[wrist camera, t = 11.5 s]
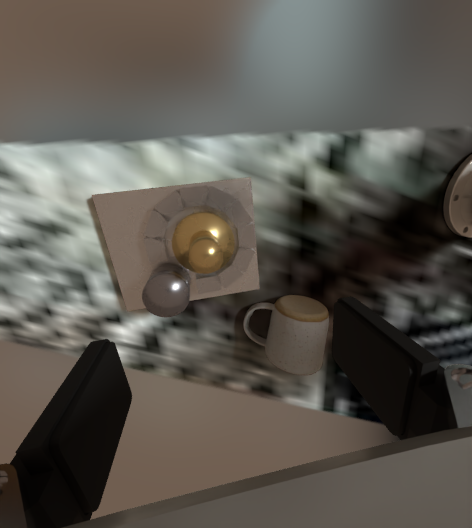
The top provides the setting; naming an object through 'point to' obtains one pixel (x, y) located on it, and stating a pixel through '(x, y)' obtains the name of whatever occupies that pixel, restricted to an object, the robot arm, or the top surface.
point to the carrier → (160, 243)
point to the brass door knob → (203, 242)
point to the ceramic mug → (293, 333)
